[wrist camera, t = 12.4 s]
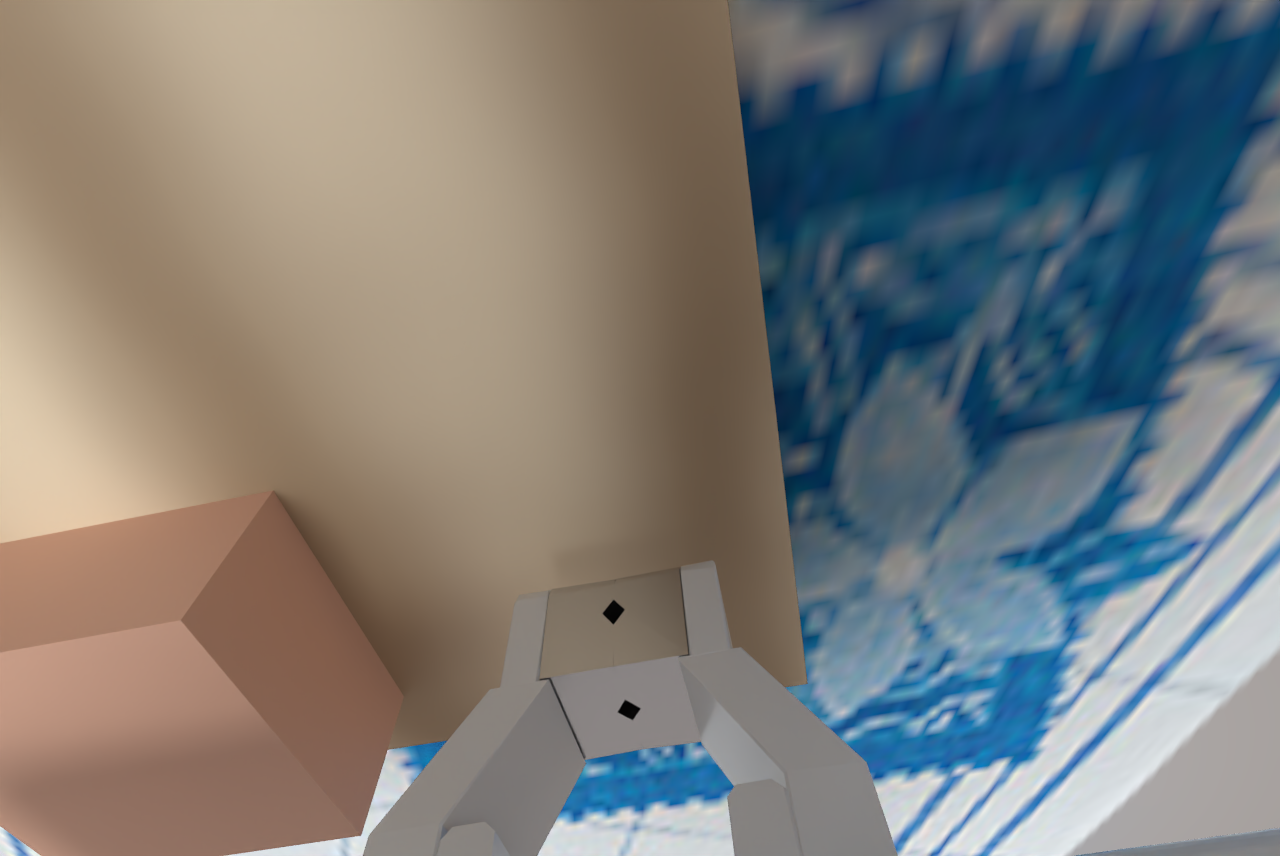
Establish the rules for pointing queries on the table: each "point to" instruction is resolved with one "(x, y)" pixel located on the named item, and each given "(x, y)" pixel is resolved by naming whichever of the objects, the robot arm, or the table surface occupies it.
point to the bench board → (397, 303)
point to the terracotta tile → (184, 688)
